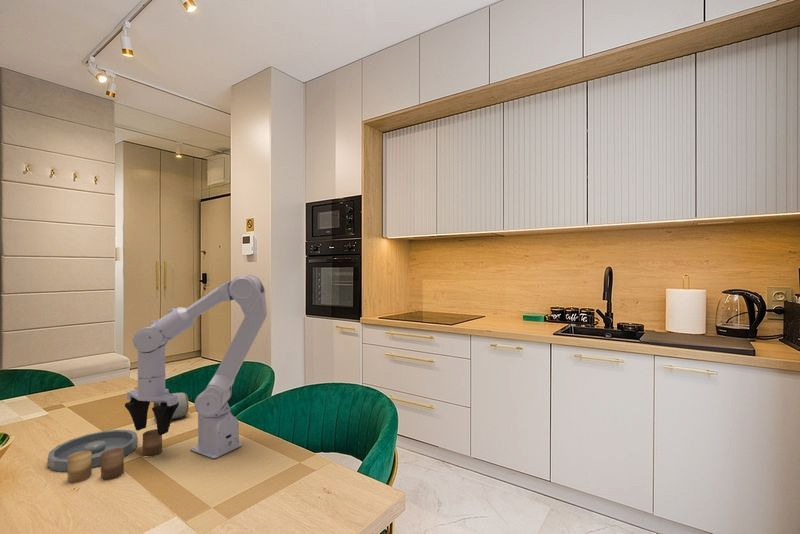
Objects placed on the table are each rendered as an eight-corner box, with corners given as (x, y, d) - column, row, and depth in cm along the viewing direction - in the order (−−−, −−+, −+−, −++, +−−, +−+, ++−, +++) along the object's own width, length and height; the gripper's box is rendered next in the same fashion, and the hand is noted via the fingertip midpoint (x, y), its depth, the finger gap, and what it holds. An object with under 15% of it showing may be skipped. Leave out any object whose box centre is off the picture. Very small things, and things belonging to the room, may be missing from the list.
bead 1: (95, 476, 86) (94, 453, 86) (72, 484, 82) (72, 461, 82) (86, 471, 88) (86, 448, 88) (64, 479, 84) (64, 456, 84)
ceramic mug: (190, 418, 118) (189, 392, 118) (159, 426, 113) (158, 399, 113) (179, 409, 126) (179, 385, 126) (149, 416, 120) (149, 391, 120)
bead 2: (127, 473, 87) (127, 450, 87) (106, 482, 83) (106, 458, 83) (118, 468, 89) (117, 446, 89) (97, 477, 85) (97, 454, 85)
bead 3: (165, 451, 97) (165, 431, 97) (148, 458, 93) (148, 437, 93) (156, 447, 99) (156, 428, 99) (139, 454, 95) (139, 434, 95)
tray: (151, 447, 99) (150, 438, 99) (68, 479, 84) (68, 468, 84) (116, 433, 108) (116, 425, 108) (35, 460, 93) (35, 450, 93)
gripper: (188, 374, 97) (188, 429, 97) (146, 369, 102) (146, 421, 102) (161, 381, 91) (162, 440, 91) (118, 376, 96) (118, 431, 96)
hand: (151, 431), depth 96 cm, fingers open, 7 cm apart
